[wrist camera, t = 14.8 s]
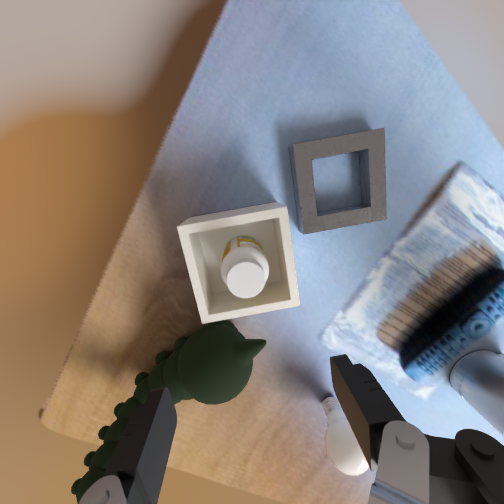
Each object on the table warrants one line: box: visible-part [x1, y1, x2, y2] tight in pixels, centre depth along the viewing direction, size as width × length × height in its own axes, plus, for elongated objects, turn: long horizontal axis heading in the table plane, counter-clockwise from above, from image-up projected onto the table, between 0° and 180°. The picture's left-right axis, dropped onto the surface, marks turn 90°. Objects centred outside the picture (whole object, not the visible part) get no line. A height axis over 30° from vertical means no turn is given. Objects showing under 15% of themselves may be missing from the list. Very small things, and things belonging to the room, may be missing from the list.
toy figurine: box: [71, 320, 266, 503], centre depth 31 cm, size 9×19×25 cm
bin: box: [177, 202, 300, 324], centre depth 32 cm, size 12×12×7 cm
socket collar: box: [289, 128, 387, 234], centre depth 32 cm, size 11×11×2 cm
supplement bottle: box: [221, 235, 269, 298], centre depth 30 cm, size 5×5×10 cm
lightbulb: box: [322, 397, 369, 476], centre depth 38 cm, size 6×6×11 cm
